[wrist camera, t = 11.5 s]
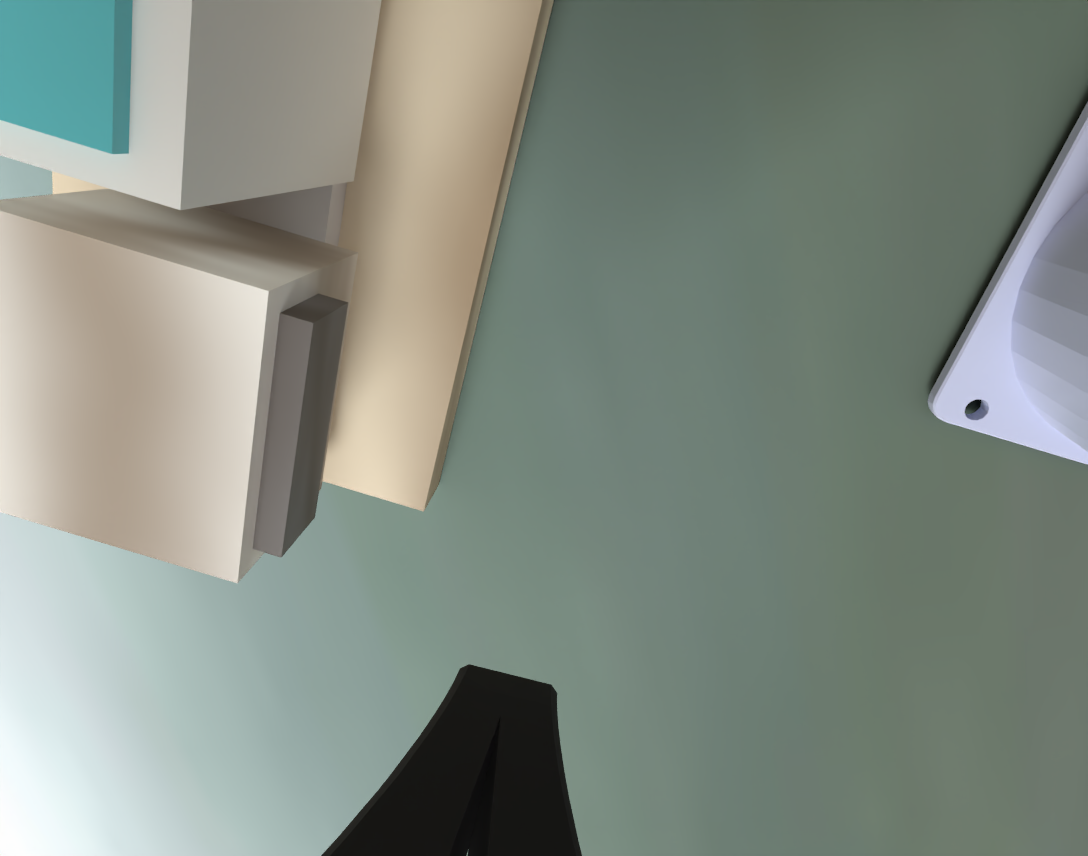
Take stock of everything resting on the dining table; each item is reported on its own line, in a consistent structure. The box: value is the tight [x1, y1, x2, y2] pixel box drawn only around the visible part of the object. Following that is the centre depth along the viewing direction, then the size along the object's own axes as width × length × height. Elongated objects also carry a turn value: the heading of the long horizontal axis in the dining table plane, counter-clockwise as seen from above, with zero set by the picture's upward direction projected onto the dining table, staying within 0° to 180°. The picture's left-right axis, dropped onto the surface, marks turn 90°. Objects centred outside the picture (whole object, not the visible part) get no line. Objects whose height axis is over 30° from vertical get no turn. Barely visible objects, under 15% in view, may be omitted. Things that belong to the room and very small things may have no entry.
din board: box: [0, 0, 554, 583], centre depth 13 cm, size 10×20×6 cm, turn 165°
